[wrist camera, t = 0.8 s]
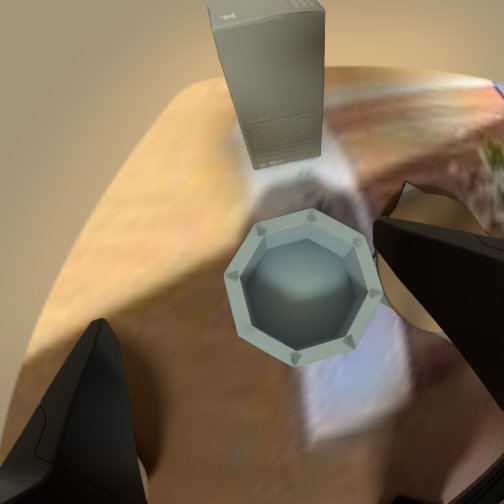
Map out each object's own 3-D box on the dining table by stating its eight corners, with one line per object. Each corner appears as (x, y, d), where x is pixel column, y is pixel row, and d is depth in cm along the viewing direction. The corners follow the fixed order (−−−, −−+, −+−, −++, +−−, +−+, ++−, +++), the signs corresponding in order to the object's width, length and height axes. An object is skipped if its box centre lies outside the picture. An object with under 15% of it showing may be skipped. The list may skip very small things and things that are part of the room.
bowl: (381, 268, 24) (400, 256, 20) (323, 378, 23) (332, 388, 18) (277, 212, 26) (275, 189, 22) (214, 316, 25) (200, 312, 20)
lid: (498, 238, 23) (524, 224, 19) (461, 354, 21) (490, 355, 17) (403, 175, 26) (420, 150, 21) (351, 291, 24) (366, 282, 19)
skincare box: (321, 159, 27) (344, 14, 12) (244, 174, 28) (207, 30, 12) (297, 94, 30) (297, -38, 14) (230, 106, 30) (197, -24, 15)
